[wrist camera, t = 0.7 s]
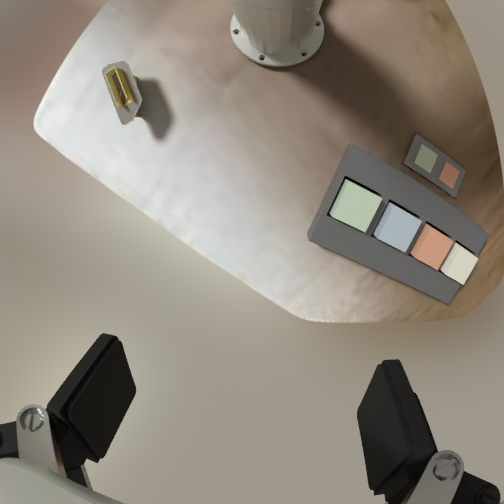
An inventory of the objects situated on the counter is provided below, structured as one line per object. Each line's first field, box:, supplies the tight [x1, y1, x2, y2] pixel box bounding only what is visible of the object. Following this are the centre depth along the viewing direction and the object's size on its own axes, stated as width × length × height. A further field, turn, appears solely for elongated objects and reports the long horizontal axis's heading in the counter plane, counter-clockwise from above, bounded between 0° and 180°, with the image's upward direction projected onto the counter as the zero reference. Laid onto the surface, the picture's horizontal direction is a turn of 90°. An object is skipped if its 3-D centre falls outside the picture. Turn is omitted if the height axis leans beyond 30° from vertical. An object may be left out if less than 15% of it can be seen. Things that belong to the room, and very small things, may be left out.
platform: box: [102, 61, 142, 125], centre depth 32 cm, size 12×18×7 cm, turn 22°
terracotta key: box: [410, 223, 454, 270], centre depth 36 cm, size 5×5×3 cm
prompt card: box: [403, 134, 466, 198], centre depth 34 cm, size 5×11×1 cm, turn 68°
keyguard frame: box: [307, 144, 489, 304], centre depth 37 cm, size 14×28×3 cm, turn 68°
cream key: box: [440, 242, 478, 285], centre depth 36 cm, size 5×5×3 cm
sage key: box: [329, 178, 382, 232], centre depth 35 cm, size 5×5×3 cm
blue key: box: [372, 201, 422, 252], centre depth 35 cm, size 5×5×3 cm
